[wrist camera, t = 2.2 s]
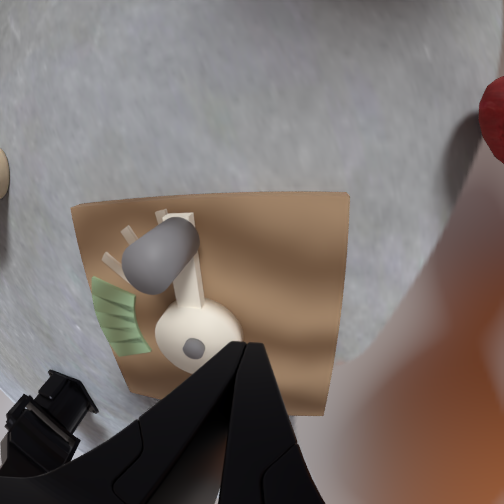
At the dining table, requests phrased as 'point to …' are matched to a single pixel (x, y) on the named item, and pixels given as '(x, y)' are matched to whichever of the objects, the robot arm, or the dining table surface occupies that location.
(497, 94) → the onion
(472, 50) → the dining table surface
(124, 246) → the dial board
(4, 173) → the candle
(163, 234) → the needle
